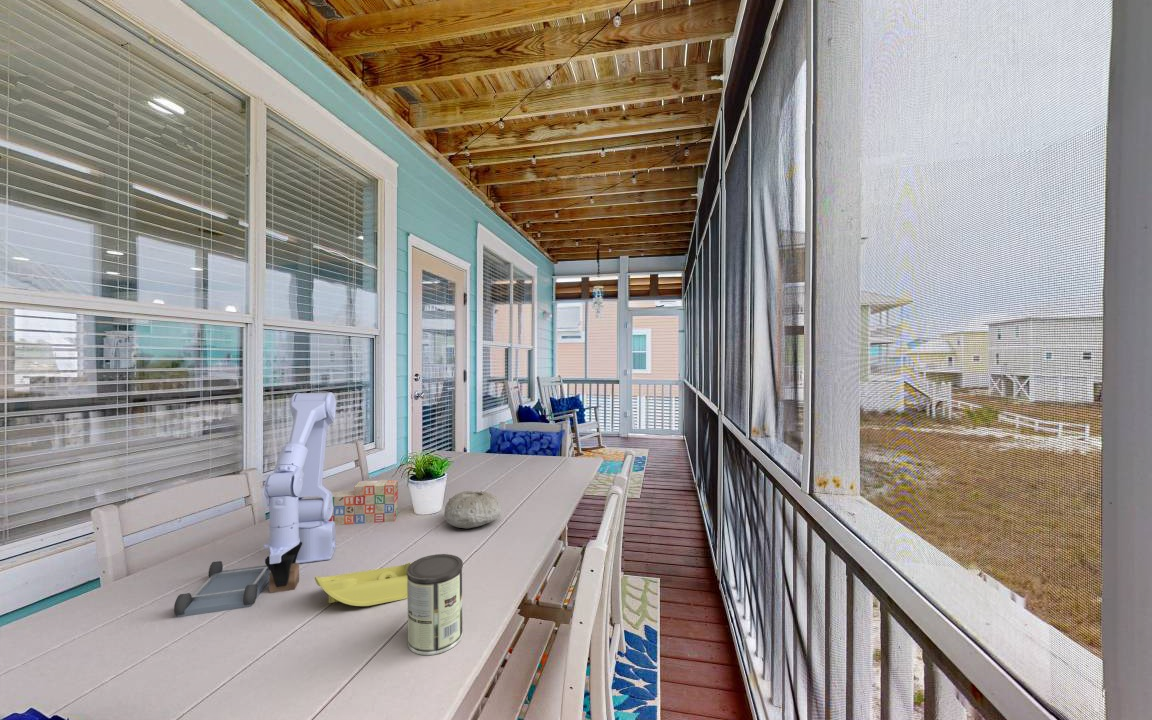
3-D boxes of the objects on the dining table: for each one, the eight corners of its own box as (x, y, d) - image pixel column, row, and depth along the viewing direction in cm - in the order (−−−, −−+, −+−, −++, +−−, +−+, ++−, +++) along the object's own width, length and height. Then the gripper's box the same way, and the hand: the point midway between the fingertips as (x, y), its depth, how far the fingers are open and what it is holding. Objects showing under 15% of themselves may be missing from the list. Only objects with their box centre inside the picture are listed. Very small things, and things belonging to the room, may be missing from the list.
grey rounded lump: (475, 510, 157) (475, 482, 157) (513, 521, 147) (513, 491, 147) (432, 526, 143) (432, 495, 143) (470, 540, 132) (470, 506, 132)
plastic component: (405, 564, 112) (414, 561, 104) (405, 598, 109) (414, 597, 101) (313, 578, 102) (315, 576, 94) (311, 615, 99) (313, 616, 91)
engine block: (299, 581, 108) (299, 562, 108) (294, 589, 104) (294, 570, 104) (275, 584, 106) (274, 565, 106) (269, 593, 103) (269, 573, 103)
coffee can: (425, 619, 93) (425, 551, 93) (472, 626, 90) (471, 556, 90) (395, 651, 83) (394, 575, 83) (446, 660, 80) (445, 581, 80)
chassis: (278, 567, 115) (278, 551, 115) (250, 608, 97) (250, 589, 97) (215, 575, 111) (215, 559, 111) (174, 619, 92) (173, 600, 92)
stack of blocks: (323, 526, 143) (323, 487, 143) (330, 519, 149) (330, 482, 149) (394, 521, 147) (394, 484, 147) (398, 515, 153) (398, 479, 153)
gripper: (274, 514, 111) (274, 569, 111) (253, 537, 97) (253, 599, 97) (306, 511, 113) (307, 565, 113) (290, 533, 99) (290, 594, 99)
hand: (284, 580), depth 105 cm, fingers closed on engine block, 4 cm apart
